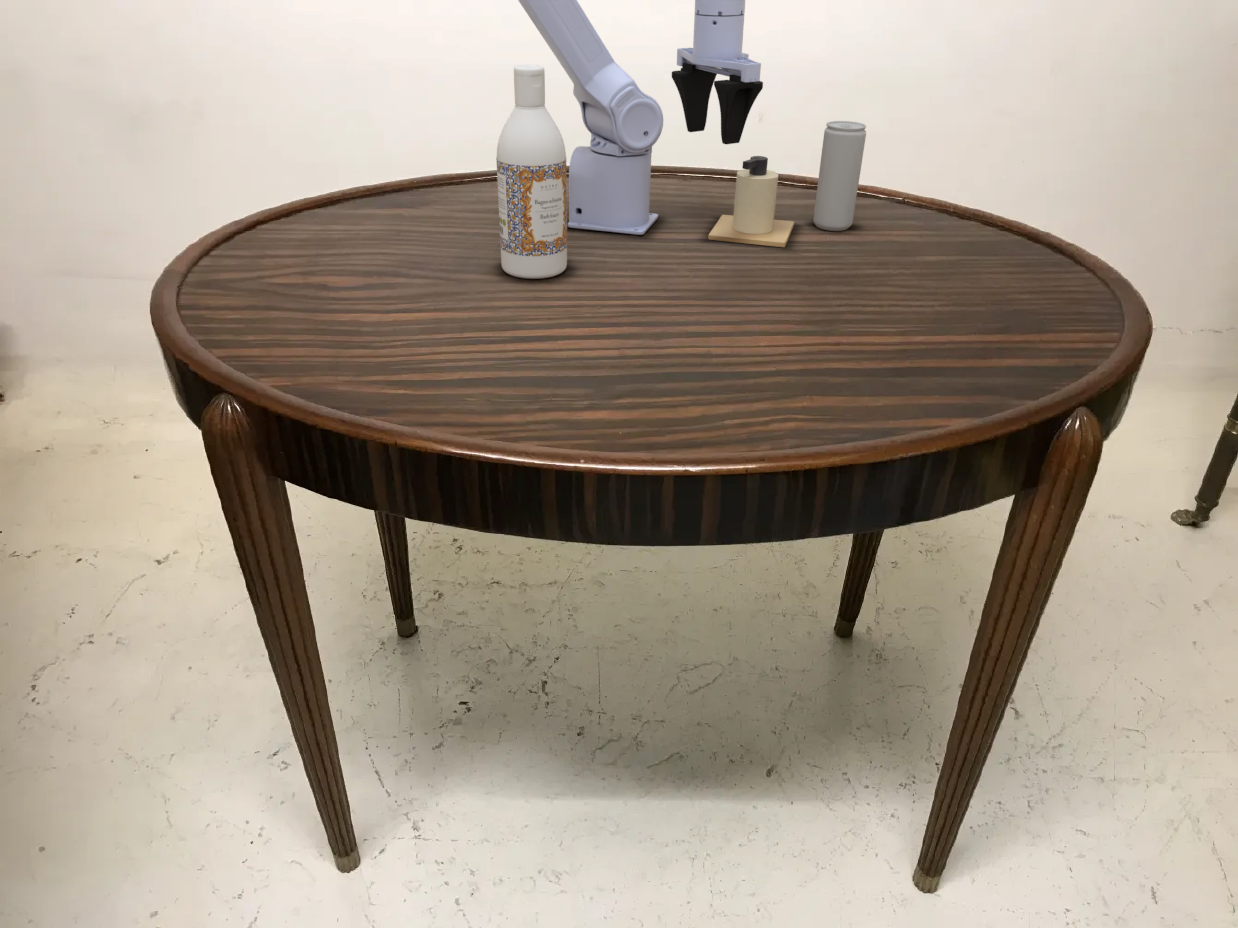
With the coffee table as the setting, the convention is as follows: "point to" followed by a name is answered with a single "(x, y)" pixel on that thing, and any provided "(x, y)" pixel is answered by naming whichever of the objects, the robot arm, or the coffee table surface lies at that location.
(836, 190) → the beverage can
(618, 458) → the coffee table surface
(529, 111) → the bath foam
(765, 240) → the coaster
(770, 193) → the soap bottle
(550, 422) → the coffee table surface
